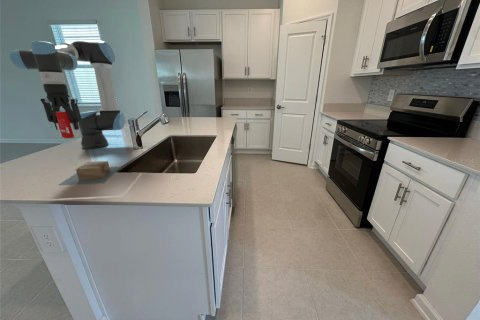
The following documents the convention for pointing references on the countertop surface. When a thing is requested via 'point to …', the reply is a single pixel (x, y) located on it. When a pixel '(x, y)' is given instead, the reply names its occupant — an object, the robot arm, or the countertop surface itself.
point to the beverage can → (64, 124)
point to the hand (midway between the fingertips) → (70, 136)
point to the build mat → (75, 179)
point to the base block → (93, 170)
